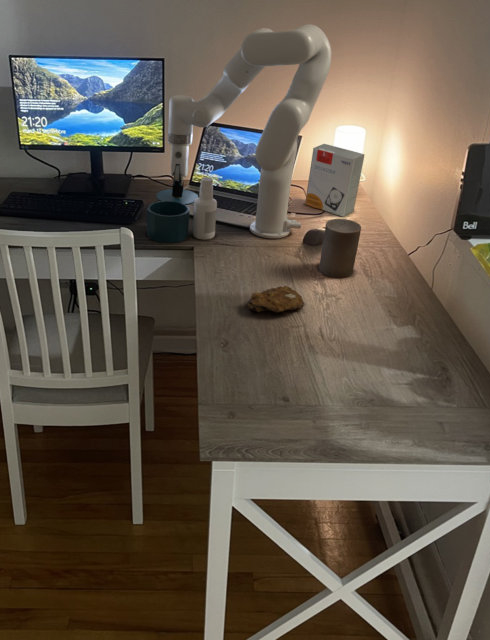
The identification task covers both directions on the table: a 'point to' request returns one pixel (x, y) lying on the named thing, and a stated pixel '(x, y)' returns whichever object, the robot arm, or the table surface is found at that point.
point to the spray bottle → (205, 211)
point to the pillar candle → (339, 247)
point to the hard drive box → (334, 179)
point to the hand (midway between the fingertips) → (177, 194)
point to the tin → (168, 221)
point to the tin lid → (186, 198)
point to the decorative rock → (276, 300)
